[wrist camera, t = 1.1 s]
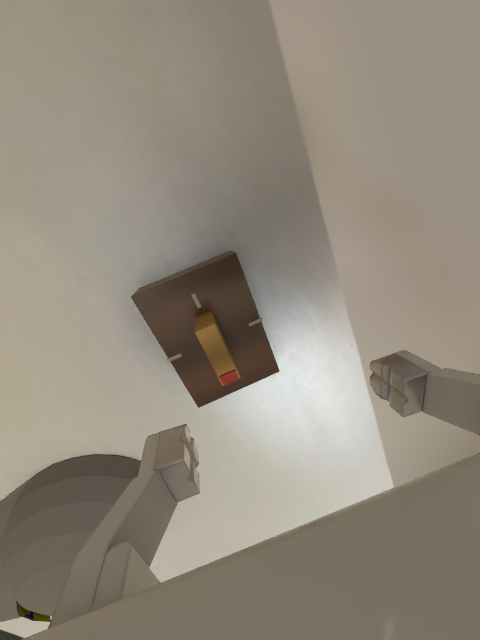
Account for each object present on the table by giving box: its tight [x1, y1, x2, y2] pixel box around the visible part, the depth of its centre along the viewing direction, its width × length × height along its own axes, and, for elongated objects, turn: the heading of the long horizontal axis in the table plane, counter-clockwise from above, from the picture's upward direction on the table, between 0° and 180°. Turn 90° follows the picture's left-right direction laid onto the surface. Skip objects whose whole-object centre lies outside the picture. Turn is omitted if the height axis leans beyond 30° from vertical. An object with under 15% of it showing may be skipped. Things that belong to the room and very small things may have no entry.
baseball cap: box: [0, 455, 141, 622], centre depth 28 cm, size 19×26×12 cm
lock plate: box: [131, 251, 279, 407], centre depth 24 cm, size 14×10×3 cm
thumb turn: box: [194, 310, 240, 386], centre depth 21 cm, size 6×2×4 cm, turn 21°
